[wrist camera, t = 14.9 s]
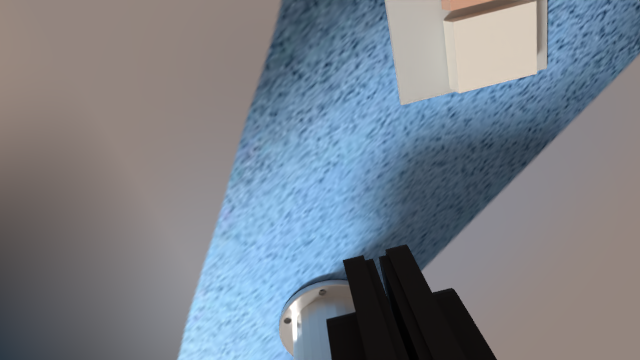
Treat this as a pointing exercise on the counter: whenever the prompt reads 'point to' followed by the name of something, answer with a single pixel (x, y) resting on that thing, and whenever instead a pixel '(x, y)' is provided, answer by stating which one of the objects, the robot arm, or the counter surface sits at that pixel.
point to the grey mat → (436, 44)
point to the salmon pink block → (460, 4)
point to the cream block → (491, 46)
